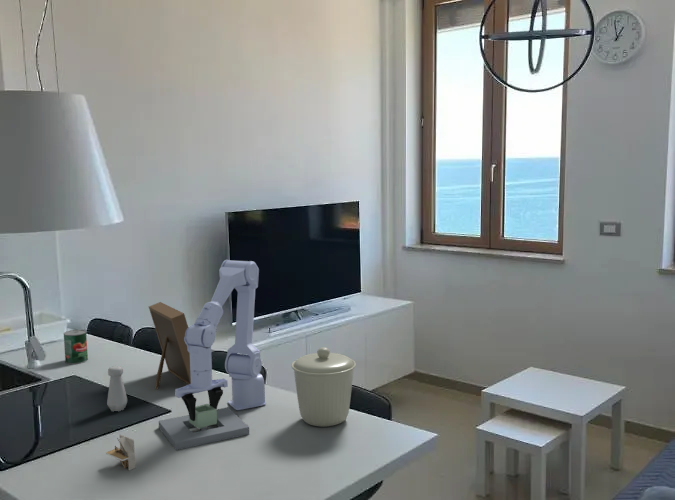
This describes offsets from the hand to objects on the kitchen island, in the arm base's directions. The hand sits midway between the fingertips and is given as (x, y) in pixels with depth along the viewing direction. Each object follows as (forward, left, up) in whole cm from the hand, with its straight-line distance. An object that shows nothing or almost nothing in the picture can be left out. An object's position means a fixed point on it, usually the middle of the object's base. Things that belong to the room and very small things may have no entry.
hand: (203, 417), depth 184 cm
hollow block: (0, 0, -2) cm, 2 cm away
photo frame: (-4, -47, -4) cm, 47 cm away
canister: (-32, +10, -4) cm, 34 cm away
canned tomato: (+20, -88, -4) cm, 90 cm away
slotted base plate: (0, 0, -4) cm, 4 cm away
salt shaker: (+17, -29, -4) cm, 34 cm away
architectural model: (+23, +11, -5) cm, 26 cm away
